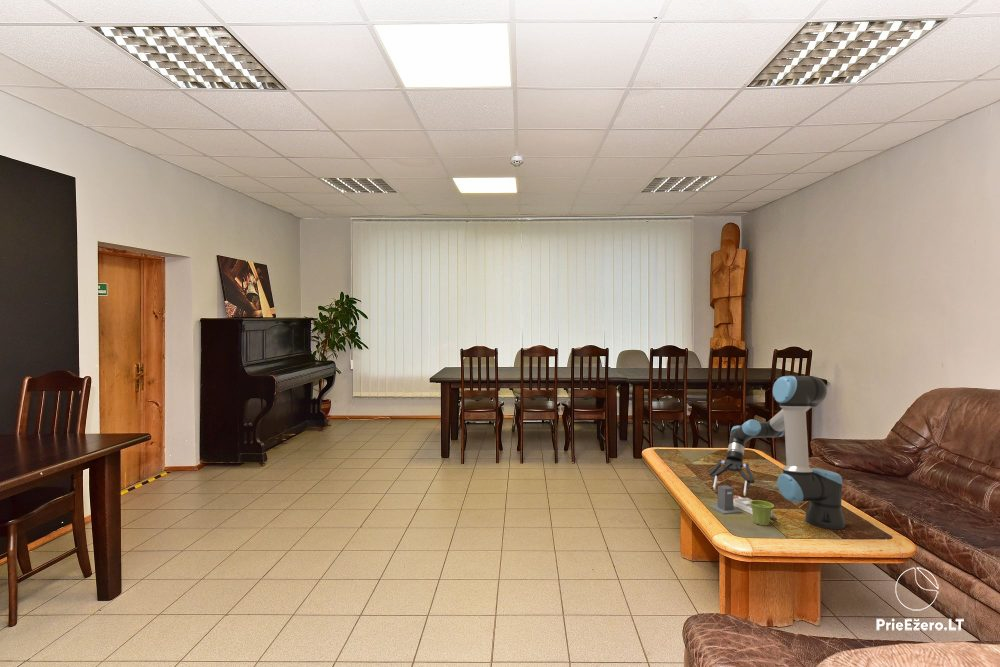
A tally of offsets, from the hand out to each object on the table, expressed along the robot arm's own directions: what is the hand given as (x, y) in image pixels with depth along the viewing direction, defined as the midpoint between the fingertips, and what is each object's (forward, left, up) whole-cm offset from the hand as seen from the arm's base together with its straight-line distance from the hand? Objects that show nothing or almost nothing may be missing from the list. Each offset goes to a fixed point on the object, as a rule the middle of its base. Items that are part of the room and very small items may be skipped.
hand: (729, 491), depth 261 cm
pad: (-6, +7, -6) cm, 11 cm away
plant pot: (-24, +3, -6) cm, 25 cm away
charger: (-6, +7, -5) cm, 11 cm away
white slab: (-10, -5, -6) cm, 13 cm away
